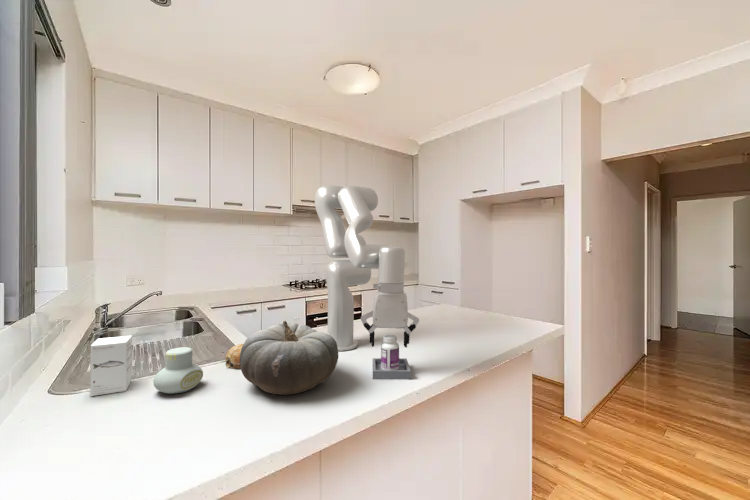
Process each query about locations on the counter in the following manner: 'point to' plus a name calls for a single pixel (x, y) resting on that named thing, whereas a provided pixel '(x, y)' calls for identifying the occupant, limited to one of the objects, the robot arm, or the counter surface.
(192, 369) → the air freshener
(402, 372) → the tray
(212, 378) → the counter surface
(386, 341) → the pill bottle
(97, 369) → the supplement box
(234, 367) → the bread roll
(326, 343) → the gourd
